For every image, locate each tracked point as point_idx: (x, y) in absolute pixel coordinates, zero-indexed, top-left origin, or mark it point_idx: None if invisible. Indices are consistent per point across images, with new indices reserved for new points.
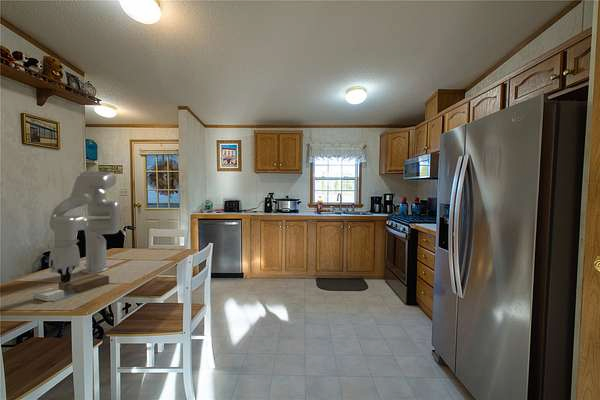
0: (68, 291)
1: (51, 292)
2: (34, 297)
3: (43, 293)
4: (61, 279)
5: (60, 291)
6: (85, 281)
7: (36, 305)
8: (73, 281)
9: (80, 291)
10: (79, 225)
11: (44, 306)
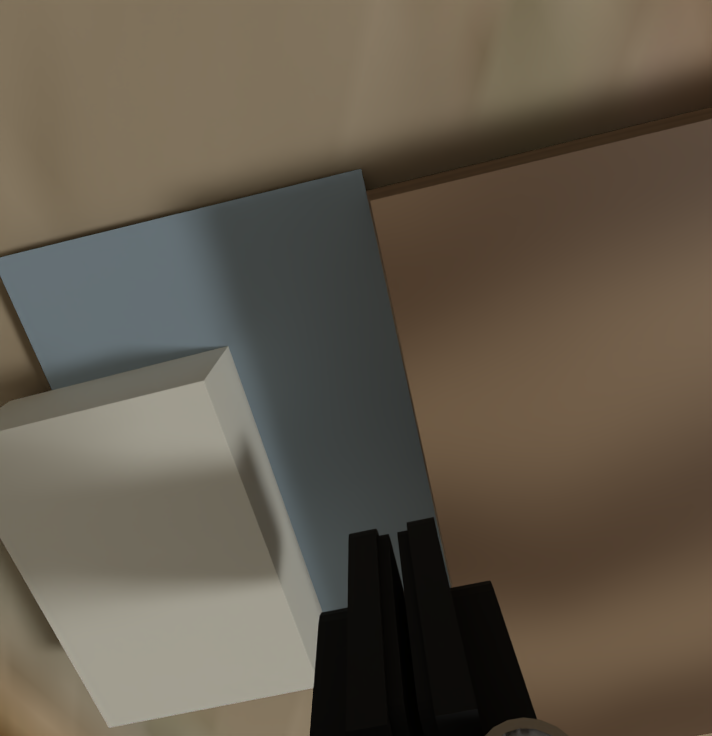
0: (421, 478)
1: (170, 632)
2: (2, 410)
3: (71, 590)
4: (326, 658)
5: (273, 684)
6: (675, 670)
7: (44, 643)
8: (563, 495)
9: None
10: None
11: (110, 731)
